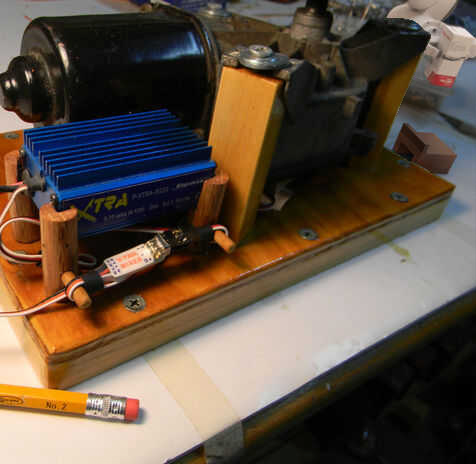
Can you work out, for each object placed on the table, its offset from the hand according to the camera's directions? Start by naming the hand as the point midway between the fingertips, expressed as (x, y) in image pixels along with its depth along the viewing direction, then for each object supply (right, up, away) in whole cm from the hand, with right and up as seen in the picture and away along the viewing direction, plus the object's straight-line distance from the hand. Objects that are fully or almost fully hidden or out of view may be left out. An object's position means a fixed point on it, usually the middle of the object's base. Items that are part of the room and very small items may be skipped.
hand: (452, 55), depth 111 cm
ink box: (-1, -4, +5) cm, 7 cm away
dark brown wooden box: (-11, -26, -7) cm, 29 cm away
